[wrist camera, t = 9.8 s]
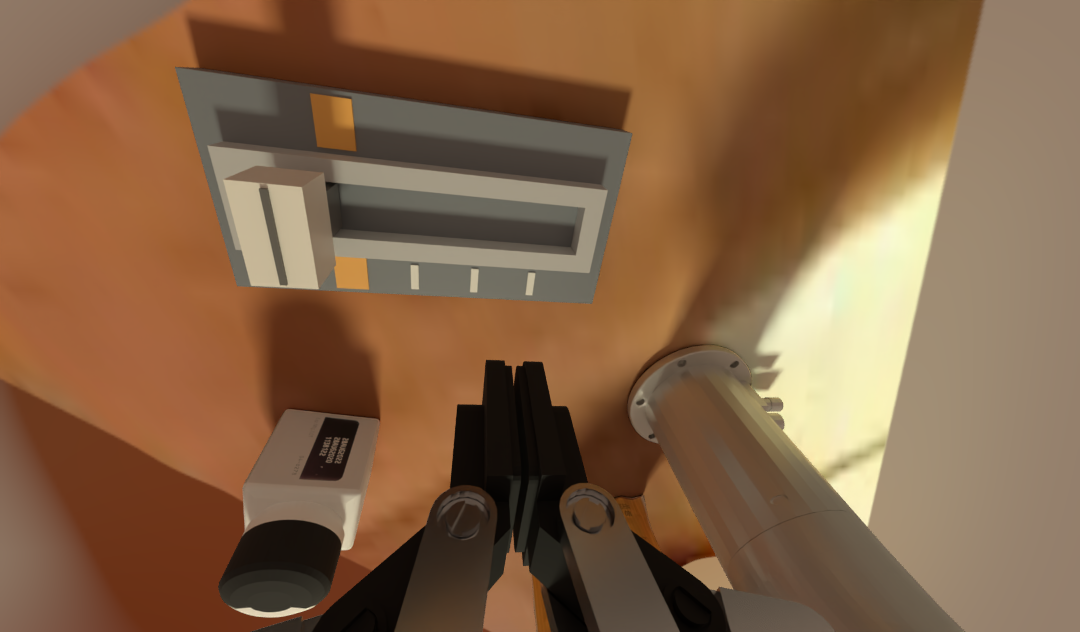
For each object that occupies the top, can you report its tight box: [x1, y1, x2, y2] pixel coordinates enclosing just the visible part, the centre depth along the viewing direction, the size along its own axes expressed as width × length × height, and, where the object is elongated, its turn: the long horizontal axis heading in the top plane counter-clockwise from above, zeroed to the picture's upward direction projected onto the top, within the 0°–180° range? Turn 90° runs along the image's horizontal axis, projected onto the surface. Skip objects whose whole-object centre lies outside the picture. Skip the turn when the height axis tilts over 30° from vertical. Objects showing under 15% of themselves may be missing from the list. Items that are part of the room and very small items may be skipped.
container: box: [218, 409, 380, 617], centre depth 30 cm, size 8×8×13 cm
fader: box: [223, 166, 343, 289], centre depth 20 cm, size 3×5×6 cm, turn 172°
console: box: [175, 67, 632, 304], centre depth 25 cm, size 24×12×4 cm, turn 82°
